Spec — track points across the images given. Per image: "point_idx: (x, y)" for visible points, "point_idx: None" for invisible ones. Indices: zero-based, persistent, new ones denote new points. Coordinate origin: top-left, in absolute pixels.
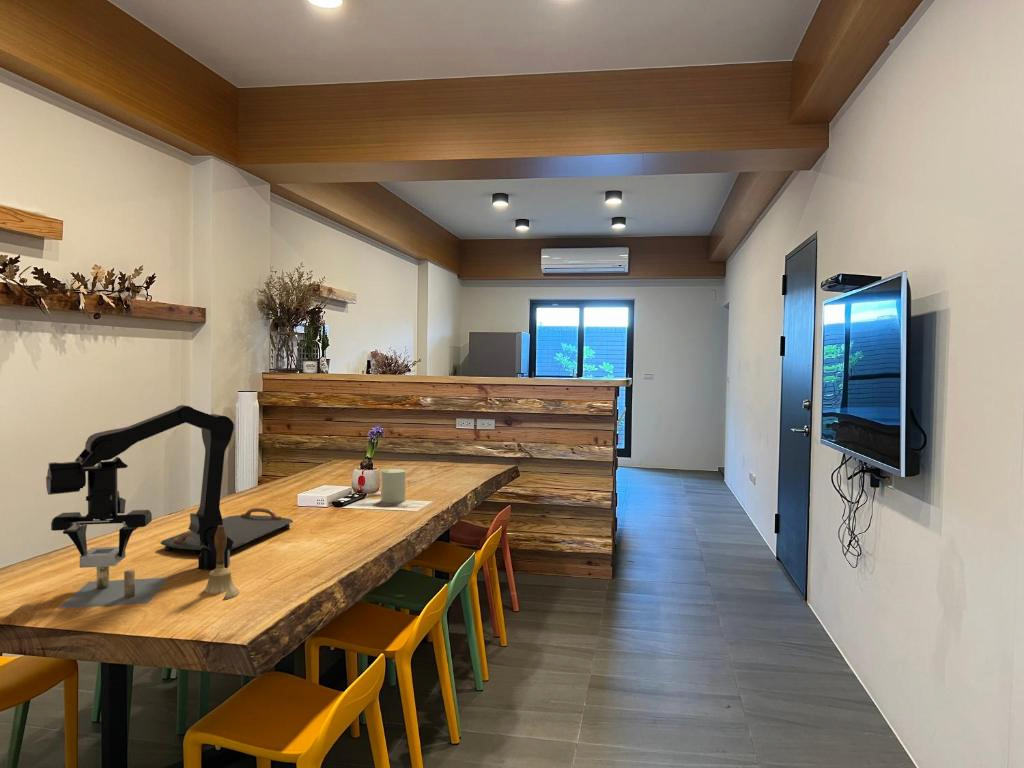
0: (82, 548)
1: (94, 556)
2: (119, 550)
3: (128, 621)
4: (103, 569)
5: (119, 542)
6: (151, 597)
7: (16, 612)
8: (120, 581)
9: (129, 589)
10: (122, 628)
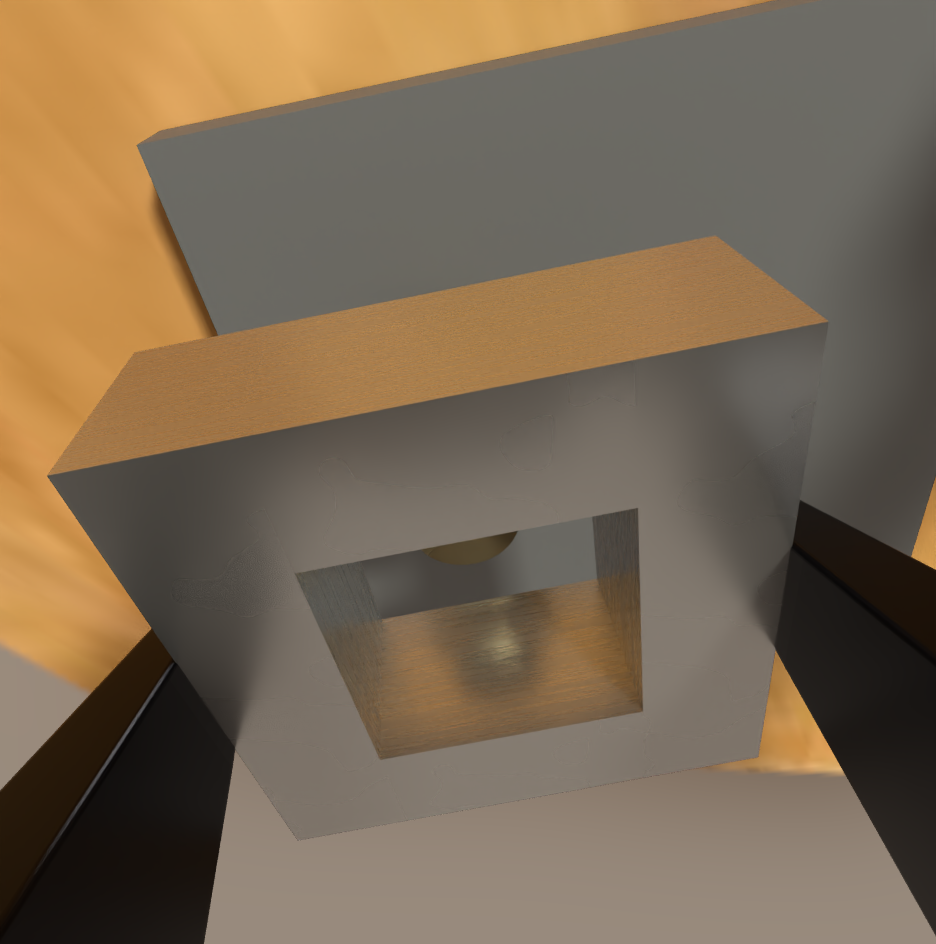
0: (214, 865)
1: (487, 798)
2: (799, 674)
3: (788, 689)
4: None
5: (906, 867)
6: (912, 533)
7: (70, 649)
8: (527, 131)
9: None
10: (778, 740)
